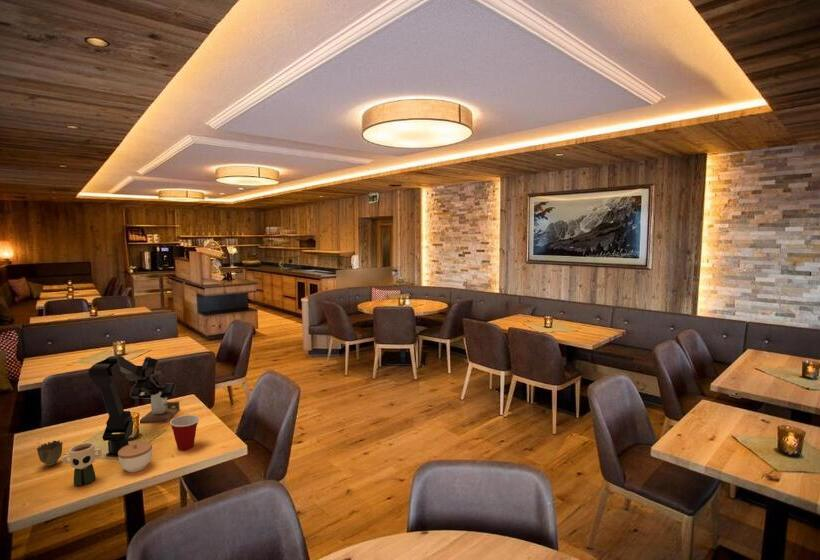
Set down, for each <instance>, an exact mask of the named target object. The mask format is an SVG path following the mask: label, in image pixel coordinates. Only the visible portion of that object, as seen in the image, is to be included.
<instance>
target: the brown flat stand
mask: <svg viewBox="0 0 820 560" xmlns="http://www.w3.org/2000/svg"><path fill="white" fill-rule="evenodd" d="M167 406H168V410H167V411H166V412H164V413H163V414H152V410H150V411H149V412H148V413H146V414H145V415H144V416H143V417H142V418H140V425H142V424H157V423H158V424H160V423H162V424H163V423H168V422H170V421H171V420H172V419H173V417H174V416H175V415H176V414H178V412H180V409H181V408H180V401H167Z"/></svg>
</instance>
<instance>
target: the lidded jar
mask: <svg viewBox="0 0 820 560" xmlns="http://www.w3.org/2000/svg"><path fill="white" fill-rule="evenodd" d="M152 455H153V443H151V442H149V441H137V442H133V443H130V444H129V445H127V446H125V447H123V448H121V449H120V450H119V451H118V456H119V457H118V462H119V464H120V467H121V469H123V470H124V471H126V472H127V473H137V472H140V471H142V470H144V469H145V468H146V467H147V465H148V464H149V463H150V461H151V460H152Z"/></svg>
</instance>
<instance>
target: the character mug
mask: <svg viewBox="0 0 820 560" xmlns="http://www.w3.org/2000/svg"><path fill="white" fill-rule="evenodd" d="M68 453H69V454H65V455H63V456H62V463H63V465H69V464H70V467H71V468H72V469H74V471H73V485H74V486H82V483H84V485H88V484H89V483H92V482H93V481H94V480H95V479H96V478H97V477H96V471H95V469H94V465H93V463H94V462H95V461H96V459H97V458H101V457H102V456H103V454H102V448H100V447H99V448H95V443H94V442H91V441H90V442H88V441H87V442H82V443H79V444H76V445H73V446H72V447H70V448H69V450H68ZM96 453H97V454H96ZM68 458H69V460H67V459H68Z"/></svg>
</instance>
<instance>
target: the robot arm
mask: <svg viewBox="0 0 820 560" xmlns="http://www.w3.org/2000/svg"><path fill="white" fill-rule="evenodd" d="M158 363H159V360H158V359H156V358H154V357H153V358H152V357H151V356H145V358H144V359H143V362H142V365H136V364H135V363H132V361H130V360H128V359H126V358H125V357H124V356H122V355H110V356H108V357H106V358H105V359H103V360H100V361H99V362H95V364H92V366H91V367H89V369H88V370H87V371H88V372H87V374H88V377H89V379H90V381H91V383H92V384H93V385H95V386H97V387H98V388H99V390H100V394H101V397H102V399H103V402H104V406H105V408H106V412H107V414H108V418H107V421H106V423H105V425H106V426H105V430H104V433H103V434H102V440H103V442H105V441H107V447H108V449H107V450H108V452H107V453H106V454H105V456H106V457H115V458H116V457H117V458H119V456H118V451H119V450H120V449H121V448H123V447H125V446H127V445H129V438H130V437H132V436H133V432H134V421H133V419H134V418H133V417H132V412H131V411H130V410H124V408H123V404H122V402H121V398H120V395H119V392H118V389H117V386H116V379H117V377H118V374H119V373H120V372H121V373H123V374H125V378H126V379H127V380H128V381H132V382H133V381H135V383H134V384H133V385H132V386H131V389H130V392H129V397H131V399H149V400H151V395H156V394H157V393H159V392H160V391H161V396H160V398H165V399H166V398H167V399H168V398H169V397H174V395H175V392H176V389H177V386H178V385H177V384H176V383H175V382H167V383H165V384H162V383H161V380H162V378H164V375H163V373H162V371H161V370H156V369H157V367H158ZM161 384H162V385H161Z"/></svg>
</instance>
